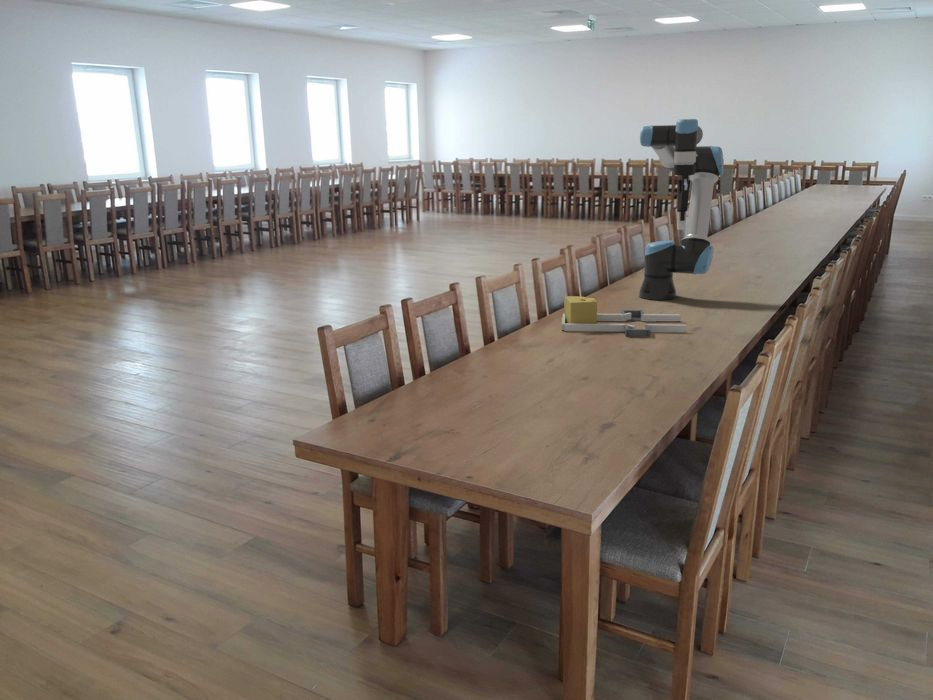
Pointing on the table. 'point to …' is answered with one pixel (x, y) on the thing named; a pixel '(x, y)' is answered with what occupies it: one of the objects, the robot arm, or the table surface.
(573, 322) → the cheese
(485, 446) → the table surface
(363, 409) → the table surface
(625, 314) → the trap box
